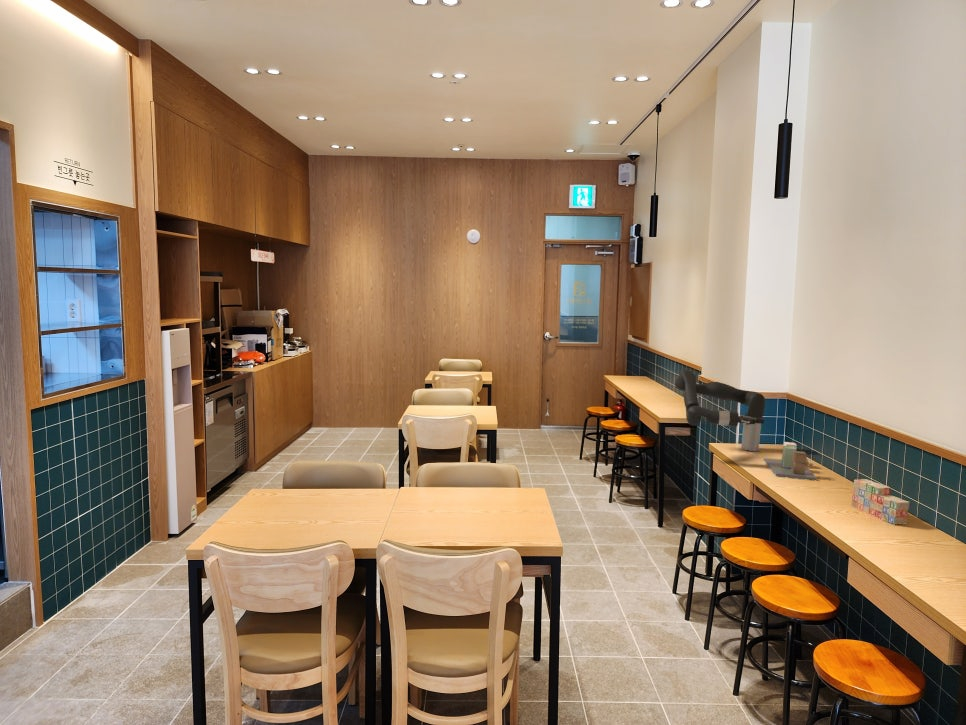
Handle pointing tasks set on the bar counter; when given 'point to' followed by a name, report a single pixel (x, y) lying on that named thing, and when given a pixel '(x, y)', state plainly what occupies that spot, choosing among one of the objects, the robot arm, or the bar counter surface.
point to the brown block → (799, 462)
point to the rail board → (786, 470)
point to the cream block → (790, 444)
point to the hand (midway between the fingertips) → (763, 421)
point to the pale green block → (787, 456)
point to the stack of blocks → (879, 501)
